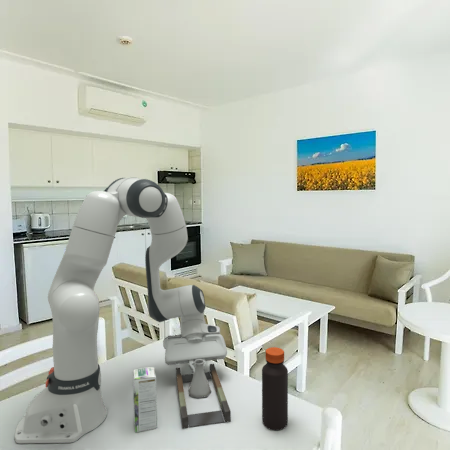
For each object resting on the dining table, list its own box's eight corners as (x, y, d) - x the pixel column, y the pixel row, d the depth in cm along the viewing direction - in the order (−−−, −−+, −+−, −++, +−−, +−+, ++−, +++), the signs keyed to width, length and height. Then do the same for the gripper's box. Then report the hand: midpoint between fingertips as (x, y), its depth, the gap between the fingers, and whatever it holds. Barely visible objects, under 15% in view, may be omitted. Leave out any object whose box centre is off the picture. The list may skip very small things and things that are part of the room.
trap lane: (182, 428, 93) (182, 417, 93) (176, 376, 120) (175, 367, 119) (230, 421, 96) (230, 411, 95) (213, 372, 122) (213, 363, 122)
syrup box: (134, 419, 97) (131, 369, 96) (155, 415, 99) (154, 365, 97) (135, 433, 92) (133, 379, 90) (158, 428, 93) (156, 376, 92)
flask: (209, 399, 106) (208, 367, 105) (185, 398, 107) (185, 366, 106) (213, 386, 113) (212, 356, 112) (190, 385, 114) (190, 355, 113)
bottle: (293, 425, 94) (293, 353, 92) (272, 434, 90) (272, 359, 89) (277, 411, 100) (277, 343, 98) (257, 419, 96) (256, 349, 94)
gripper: (162, 332, 116) (164, 376, 107) (224, 326, 120) (230, 368, 111) (162, 339, 120) (164, 382, 112) (221, 334, 125) (228, 374, 116)
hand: (198, 375), depth 112 cm, fingers closed, pressing on flask
